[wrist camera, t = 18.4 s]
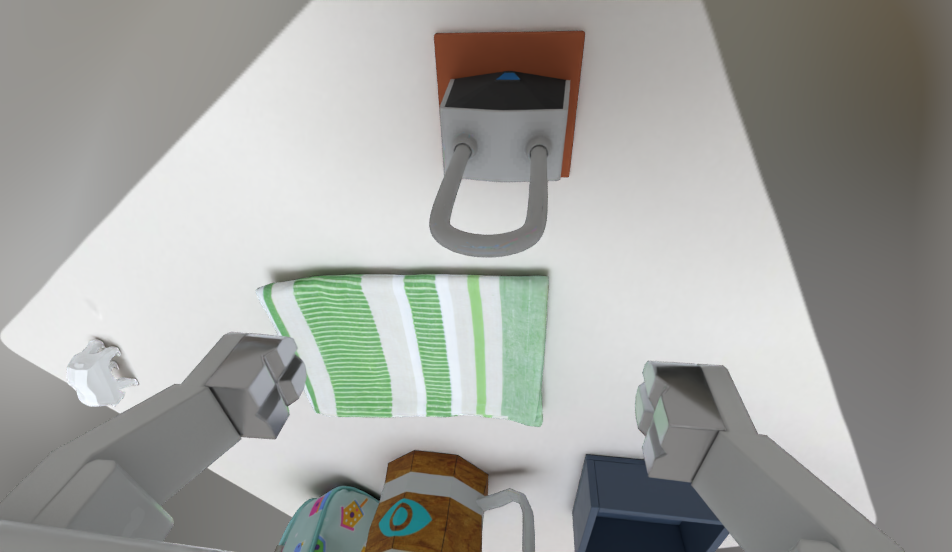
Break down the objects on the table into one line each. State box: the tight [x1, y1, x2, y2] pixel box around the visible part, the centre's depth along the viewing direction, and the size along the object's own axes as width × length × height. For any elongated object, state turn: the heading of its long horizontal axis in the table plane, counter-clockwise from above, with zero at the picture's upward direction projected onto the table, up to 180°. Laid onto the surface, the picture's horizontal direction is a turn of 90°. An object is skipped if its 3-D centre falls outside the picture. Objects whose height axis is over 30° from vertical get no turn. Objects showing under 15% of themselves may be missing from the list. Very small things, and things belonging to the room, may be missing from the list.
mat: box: [434, 31, 585, 177], centre depth 25 cm, size 8×8×1 cm
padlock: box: [429, 71, 570, 257], centre depth 18 cm, size 7×4×15 cm, turn 91°
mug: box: [365, 450, 535, 552], centre depth 46 cm, size 20×14×15 cm
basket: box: [572, 455, 729, 552], centre depth 47 cm, size 14×14×6 cm
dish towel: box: [256, 274, 549, 427], centre depth 37 cm, size 18×23×3 cm
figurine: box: [67, 340, 138, 407], centre depth 44 cm, size 2×8×5 cm, turn 172°
